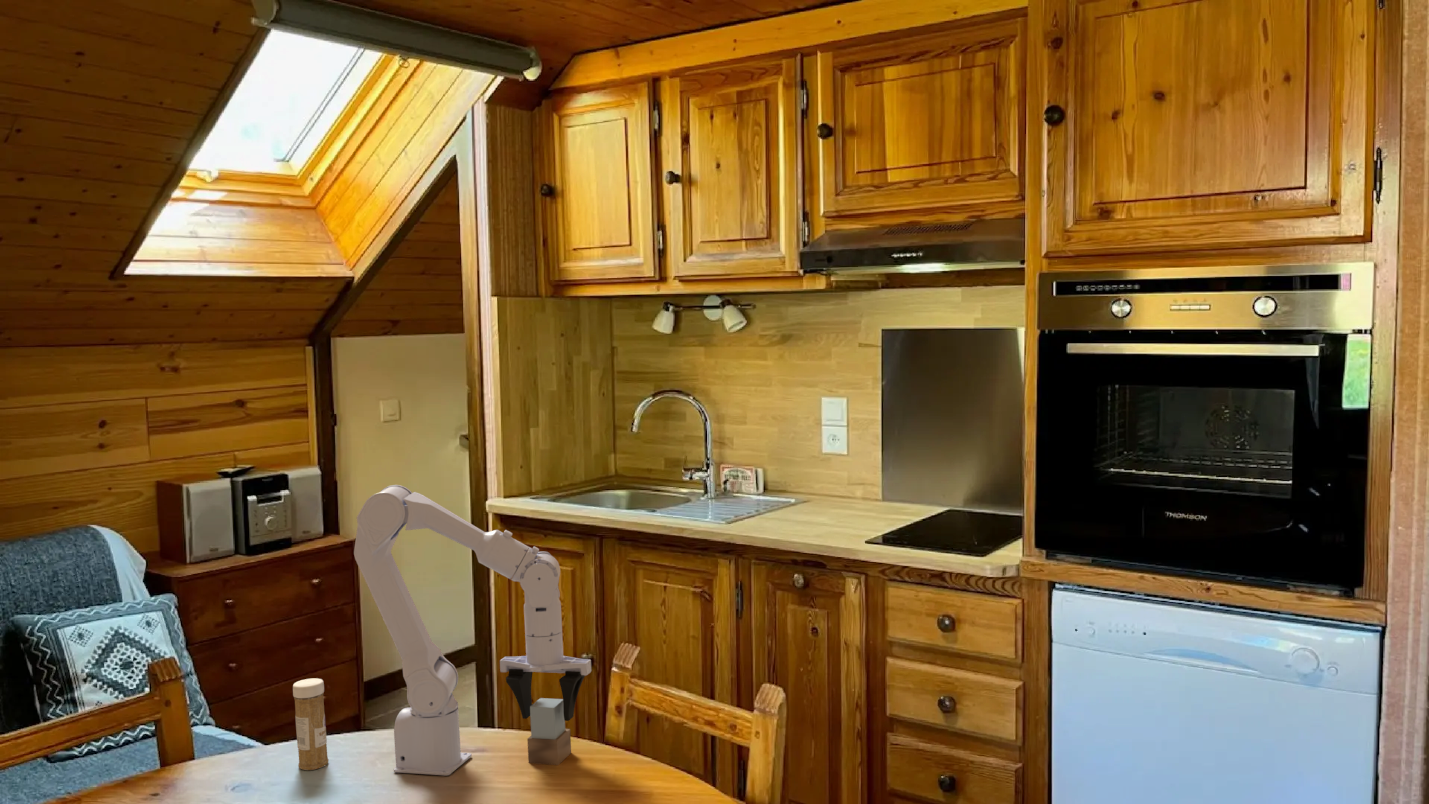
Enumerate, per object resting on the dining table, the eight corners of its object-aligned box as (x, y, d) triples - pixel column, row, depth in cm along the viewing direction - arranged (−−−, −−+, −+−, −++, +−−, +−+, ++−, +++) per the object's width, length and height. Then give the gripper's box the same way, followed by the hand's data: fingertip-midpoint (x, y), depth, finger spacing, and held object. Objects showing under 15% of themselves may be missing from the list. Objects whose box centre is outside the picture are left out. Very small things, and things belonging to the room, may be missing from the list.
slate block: (531, 738, 168) (529, 706, 168) (541, 728, 172) (540, 698, 172) (555, 739, 167) (553, 707, 167) (565, 730, 171) (563, 699, 171)
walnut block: (528, 763, 169) (527, 738, 168) (542, 751, 173) (541, 727, 173) (558, 766, 167) (557, 740, 167) (571, 753, 172) (570, 729, 172)
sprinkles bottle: (331, 766, 170) (326, 682, 169) (301, 773, 168) (296, 688, 167) (324, 757, 174) (319, 675, 173) (295, 764, 172) (289, 681, 171)
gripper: (489, 637, 167) (494, 724, 168) (577, 640, 163) (582, 728, 164) (509, 625, 174) (513, 708, 175) (594, 628, 170) (598, 712, 171)
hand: (548, 717), depth 170 cm, fingers open, 6 cm apart
